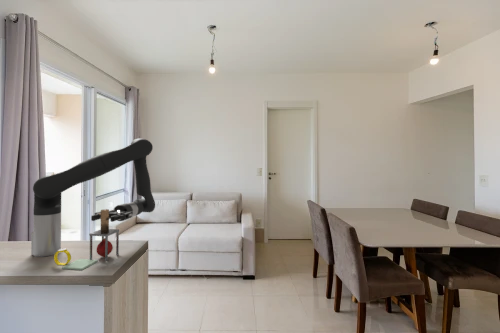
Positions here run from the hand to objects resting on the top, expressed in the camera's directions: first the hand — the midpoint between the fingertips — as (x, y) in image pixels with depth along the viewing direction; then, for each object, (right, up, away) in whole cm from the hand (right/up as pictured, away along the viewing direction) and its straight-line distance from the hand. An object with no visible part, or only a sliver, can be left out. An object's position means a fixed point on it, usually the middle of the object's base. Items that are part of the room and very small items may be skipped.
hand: (101, 218), depth 101 cm
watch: (-12, -17, -6) cm, 21 cm away
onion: (0, -17, +2) cm, 17 cm away
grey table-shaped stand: (0, -16, +2) cm, 17 cm away
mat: (-4, -16, -6) cm, 18 cm away
